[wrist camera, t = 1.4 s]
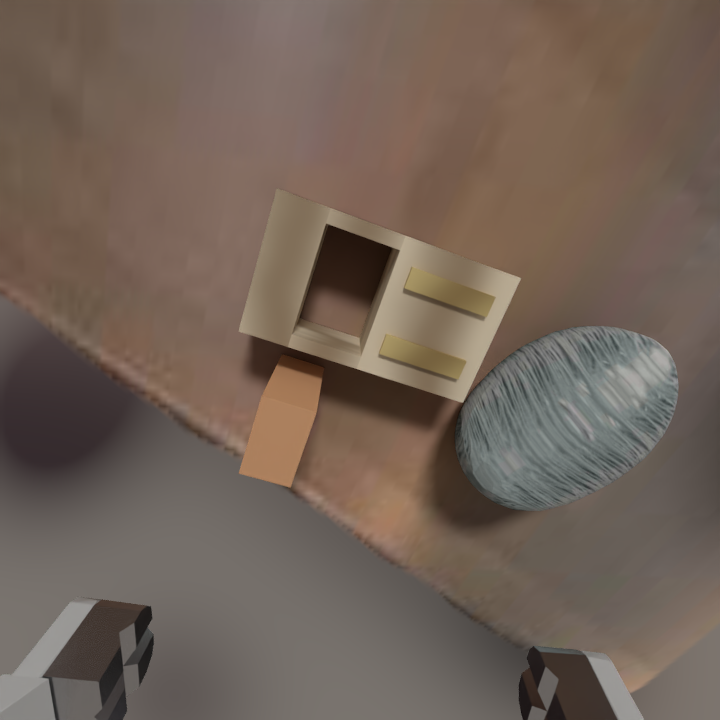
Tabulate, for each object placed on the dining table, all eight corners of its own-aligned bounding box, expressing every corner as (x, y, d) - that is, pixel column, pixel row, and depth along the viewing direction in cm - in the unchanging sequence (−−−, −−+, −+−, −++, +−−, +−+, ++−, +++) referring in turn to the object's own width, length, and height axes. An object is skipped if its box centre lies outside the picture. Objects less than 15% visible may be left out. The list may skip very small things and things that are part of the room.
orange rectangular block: (262, 416, 30) (238, 473, 24) (282, 354, 29) (262, 395, 22) (302, 428, 31) (290, 487, 24) (324, 367, 29) (316, 412, 23)
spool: (497, 532, 30) (553, 573, 20) (416, 422, 32) (433, 411, 22) (643, 420, 31) (763, 408, 21) (557, 320, 33) (632, 266, 23)
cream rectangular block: (253, 315, 28) (237, 332, 24) (287, 192, 25) (275, 188, 21) (448, 378, 30) (464, 404, 26) (497, 269, 27) (523, 279, 23)
